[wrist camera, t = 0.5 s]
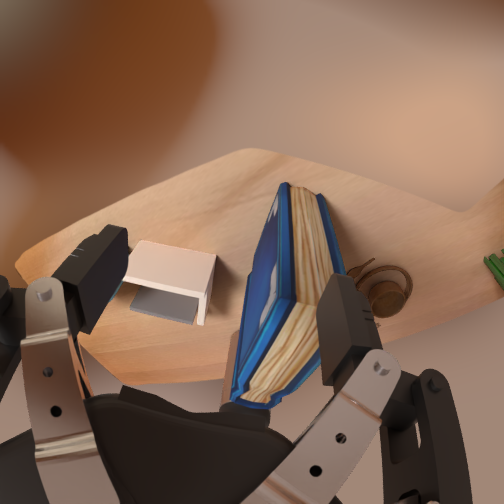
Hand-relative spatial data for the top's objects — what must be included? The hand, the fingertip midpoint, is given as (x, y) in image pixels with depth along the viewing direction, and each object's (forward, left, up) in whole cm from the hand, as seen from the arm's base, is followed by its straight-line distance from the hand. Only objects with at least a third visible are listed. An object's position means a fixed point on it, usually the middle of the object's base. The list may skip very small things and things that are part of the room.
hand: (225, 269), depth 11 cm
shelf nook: (-28, +11, -33) cm, 45 cm away
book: (-18, -6, -33) cm, 38 cm away
